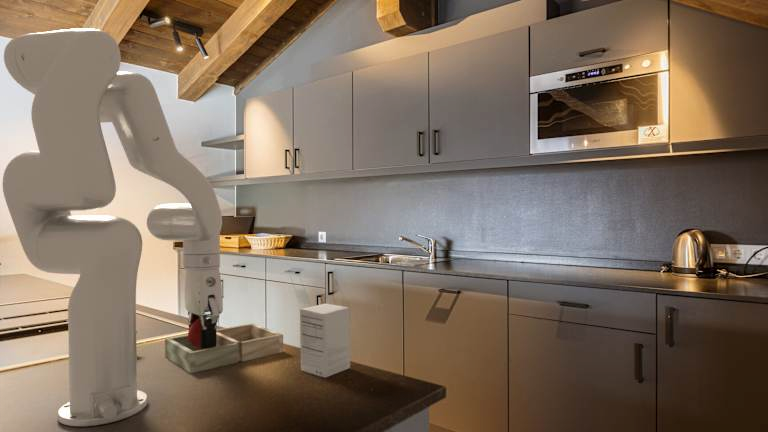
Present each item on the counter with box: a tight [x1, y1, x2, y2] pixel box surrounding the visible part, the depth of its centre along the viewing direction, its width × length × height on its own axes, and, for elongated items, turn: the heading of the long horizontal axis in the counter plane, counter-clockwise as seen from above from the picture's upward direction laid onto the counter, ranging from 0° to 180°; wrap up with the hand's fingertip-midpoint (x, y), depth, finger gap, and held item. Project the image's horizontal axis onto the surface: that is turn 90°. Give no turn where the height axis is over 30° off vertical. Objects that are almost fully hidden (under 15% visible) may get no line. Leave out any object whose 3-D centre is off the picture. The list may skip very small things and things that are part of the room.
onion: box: [187, 316, 208, 350], centre depth 105 cm, size 6×6×8 cm
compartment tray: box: [164, 322, 284, 374], centre depth 109 cm, size 15×21×4 cm
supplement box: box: [299, 303, 351, 379], centre depth 98 cm, size 7×7×13 cm
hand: (202, 343), depth 105 cm, fingers closed on onion, 5 cm apart
